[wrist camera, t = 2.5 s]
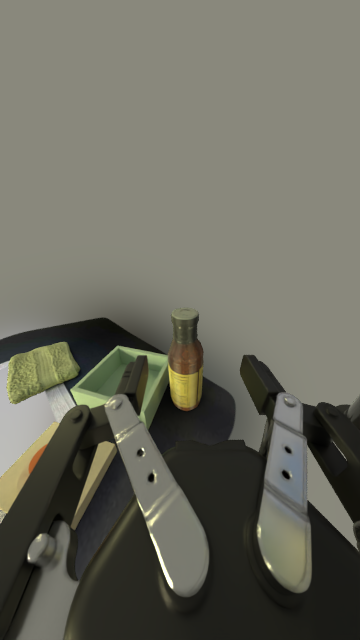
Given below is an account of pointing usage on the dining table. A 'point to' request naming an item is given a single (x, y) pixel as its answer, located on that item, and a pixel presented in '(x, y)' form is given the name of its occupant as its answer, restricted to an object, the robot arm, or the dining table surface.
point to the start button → (36, 459)
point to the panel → (11, 482)
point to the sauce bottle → (185, 360)
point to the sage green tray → (109, 373)
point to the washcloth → (39, 371)
